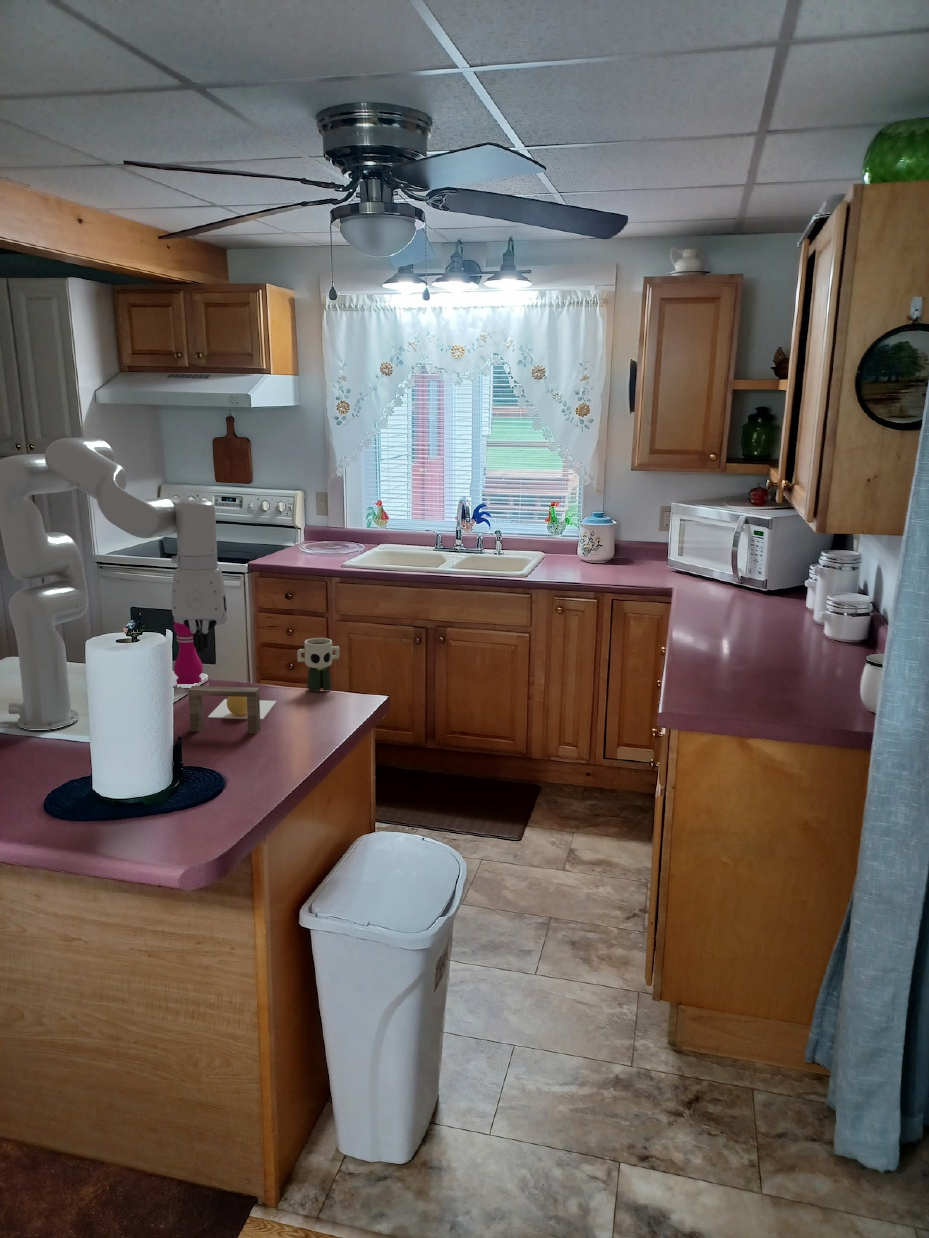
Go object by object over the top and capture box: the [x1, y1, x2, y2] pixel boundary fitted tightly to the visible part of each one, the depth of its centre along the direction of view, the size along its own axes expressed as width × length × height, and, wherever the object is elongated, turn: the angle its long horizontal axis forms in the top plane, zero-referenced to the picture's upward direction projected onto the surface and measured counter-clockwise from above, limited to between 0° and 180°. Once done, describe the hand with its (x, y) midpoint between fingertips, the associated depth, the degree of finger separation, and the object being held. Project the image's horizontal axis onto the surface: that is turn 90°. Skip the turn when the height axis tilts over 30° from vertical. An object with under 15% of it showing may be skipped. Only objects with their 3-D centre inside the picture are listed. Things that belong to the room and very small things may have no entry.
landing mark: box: [207, 698, 278, 721], centre depth 212 cm, size 13×13×1 cm
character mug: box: [296, 637, 340, 692], centre depth 227 cm, size 11×7×13 cm, turn 112°
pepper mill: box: [173, 621, 204, 685], centre depth 227 cm, size 7×7×20 cm
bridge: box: [187, 685, 261, 734], centre depth 198 cm, size 3×15×10 cm, turn 88°
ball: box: [226, 696, 247, 716], centre depth 208 cm, size 6×6×6 cm
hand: (202, 650), depth 181 cm, fingers closed
